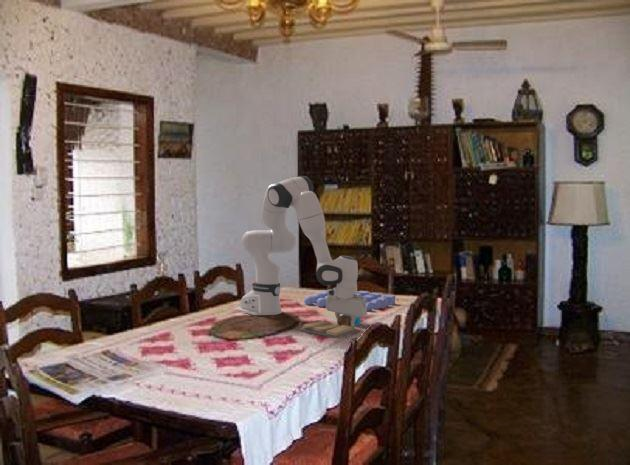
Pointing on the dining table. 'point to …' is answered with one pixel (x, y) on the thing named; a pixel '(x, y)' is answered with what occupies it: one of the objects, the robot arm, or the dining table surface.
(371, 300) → the blue flat bumpy slab
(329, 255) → the robot arm
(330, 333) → the underlay
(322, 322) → the tan flat slab
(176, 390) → the dining table surface
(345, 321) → the block
